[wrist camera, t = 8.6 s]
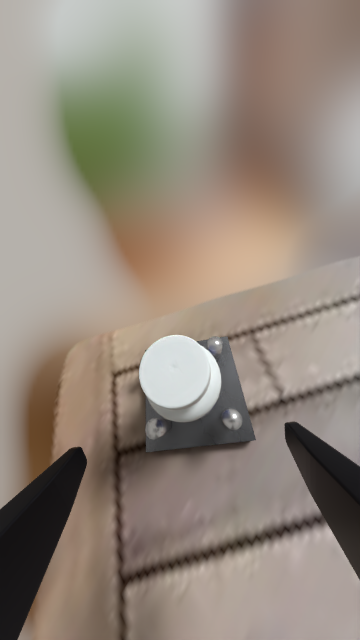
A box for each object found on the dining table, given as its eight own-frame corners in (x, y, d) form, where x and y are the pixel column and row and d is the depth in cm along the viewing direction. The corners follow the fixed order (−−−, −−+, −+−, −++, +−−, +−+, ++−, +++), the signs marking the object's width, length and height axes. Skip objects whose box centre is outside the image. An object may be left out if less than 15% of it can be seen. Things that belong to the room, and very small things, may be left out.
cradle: (252, 438, 16) (267, 447, 12) (150, 449, 17) (130, 461, 13) (226, 340, 21) (229, 322, 17) (148, 353, 22) (133, 339, 18)
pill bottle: (228, 404, 16) (246, 395, 8) (178, 429, 16) (141, 447, 8) (203, 355, 19) (196, 310, 11) (160, 376, 19) (117, 346, 10)
